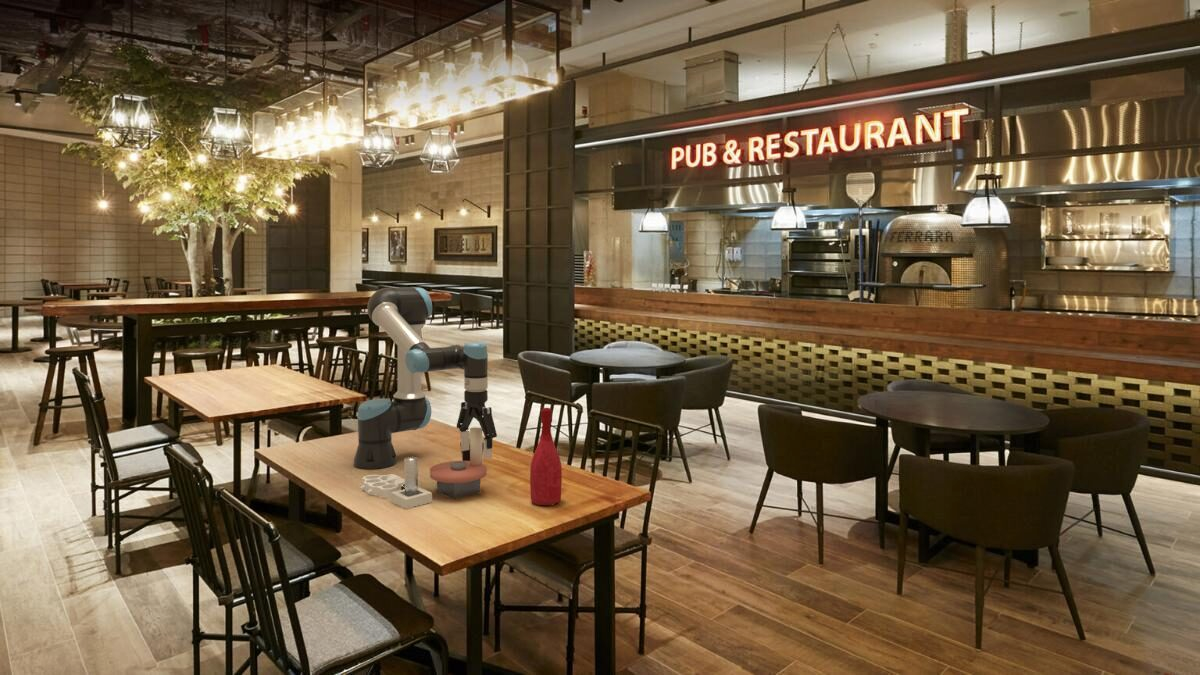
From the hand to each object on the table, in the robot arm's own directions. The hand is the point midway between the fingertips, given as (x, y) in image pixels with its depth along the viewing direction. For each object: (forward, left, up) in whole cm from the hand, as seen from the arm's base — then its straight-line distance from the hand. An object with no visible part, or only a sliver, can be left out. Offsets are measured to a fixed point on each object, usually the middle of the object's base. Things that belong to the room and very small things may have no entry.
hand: (476, 454), depth 237 cm
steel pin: (-2, -23, -11) cm, 26 cm away
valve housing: (0, -7, -11) cm, 13 cm away
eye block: (-2, -23, -11) cm, 26 cm away
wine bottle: (+26, +8, -12) cm, 30 cm away
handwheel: (0, -7, -5) cm, 9 cm away
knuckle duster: (-19, -23, -12) cm, 32 cm away
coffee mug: (-20, +13, -12) cm, 27 cm away
